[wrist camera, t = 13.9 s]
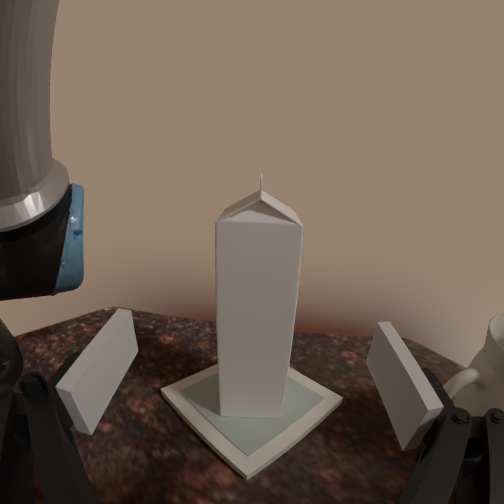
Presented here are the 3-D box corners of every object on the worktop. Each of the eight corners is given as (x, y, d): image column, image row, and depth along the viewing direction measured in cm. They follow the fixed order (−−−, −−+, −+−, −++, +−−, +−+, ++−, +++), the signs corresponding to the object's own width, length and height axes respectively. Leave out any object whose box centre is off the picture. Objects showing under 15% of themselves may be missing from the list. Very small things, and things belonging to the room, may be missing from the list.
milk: (220, 416, 25) (212, 175, 19) (226, 377, 31) (224, 171, 24) (282, 419, 25) (307, 178, 19) (280, 379, 31) (296, 173, 24)
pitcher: (387, 420, 25) (430, 309, 21) (499, 396, 24) (542, 303, 20) (411, 502, 15) (498, 394, 11) (533, 450, 14) (598, 350, 9)
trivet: (161, 395, 29) (160, 387, 29) (254, 351, 38) (254, 344, 38) (246, 480, 19) (246, 474, 19) (341, 403, 28) (343, 396, 28)
